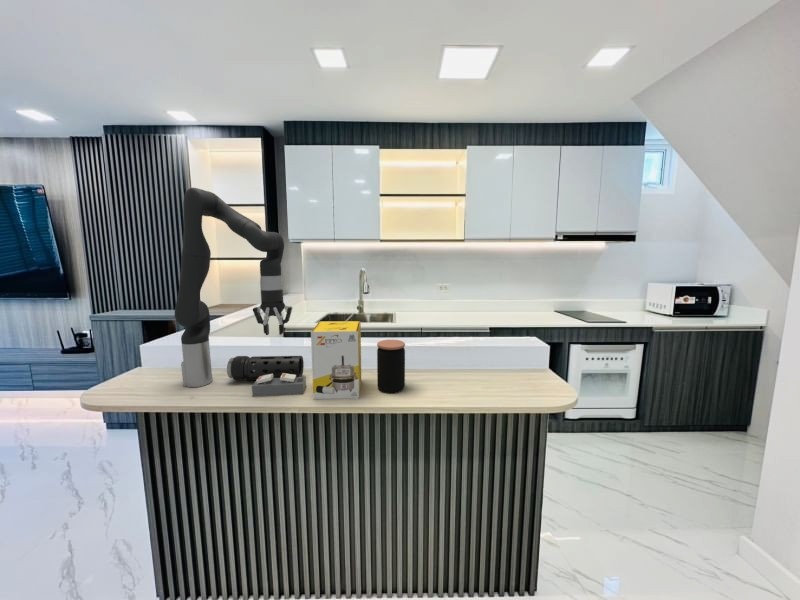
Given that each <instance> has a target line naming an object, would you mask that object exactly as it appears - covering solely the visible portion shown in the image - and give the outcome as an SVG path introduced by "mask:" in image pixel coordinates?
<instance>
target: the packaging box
mask: <svg viewBox="0 0 800 600" xmlns="http://www.w3.org/2000/svg"><path fill="white" fill-rule="evenodd" d="M361 330H362V329H361V321H360V320H359V321H358V320H357V321H356V320H354V321H353V320H351V321H350V320H349V321H348V320H347V321H342V320H341V321H319V322H318V323H317V324H316V325H315V326H314V327H313V329H312V330H311V331H310V342H311V343H310V344H311V348H310V349H311V369H312V370H311V371H312V393H313V394H312V395H313V396H312V397H313V398H312V399H313V401H314V400H315V401H316V400H317V399H319V400H348V399H349V400H351V399H353V400H356V398H357V399H360V394H361V388H360V387H362V343H361V342H362V340H361V339H362V337H361V336H362V335H361V334H362V331H361Z"/></svg>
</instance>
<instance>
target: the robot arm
mask: <svg viewBox="0 0 800 600" xmlns="http://www.w3.org/2000/svg"><path fill="white" fill-rule="evenodd" d="M182 204H183V206H182V207H183V211H182V212H183V238H182V239H183V240H182V251H181V259H180V274H179V275H180V276H179V287H178V292H177V293H178V294H177V298H176V304H175V308H174V318H175V320H176V322H177V323H178V325H179V326H181V327H184V328H185V329H184V331H183V333H182V334H181V336H180V341H181V350H182V351H181V352H182V360H183V361H181V362H180V366H181V377H182V385H183V387H188V388H199V387H203V386H207V385H209V384H210V383H212V382H213V373H212V372H213V371H212V370H213V369H212V359H211V358H212V357H211V348H210V337H209V336H210V333H211V318H210V317H211V316H210V315H211V314H210V309H209V307H208V305H207V304H206V303H205V301H202V300H200V298H201V297H200V296H201V291H202V287H203V285H204V283H205V281H206V278H207V276H208V273H209V270H210V265H211V255H212V254H211V248H210V245H209V243H208V242H207V239H206V237H205V234H204V231H203V217H210V218H211V217H212V218H214V219H217V220H219V221H221V222H223V223H225V225H226V226H227V227H228V228H229V229H230V230H231V232H233V233H235V234H236V235H237V236H239V237H241V238H243V239H244V240H246V241H247V242H248V243H249V244H250V245H251V246H252V247H253V248H254V249H256V250H257V251H260V252H263V253H266V257H264V258H263V259H261V260H260V262H259V273H260V278H259V279H260V280H259V287H260V302H261V303H260V305H259V306H255V307H254V308H252V312H253V315H254V317H255V319H256V322H257V324H259V325H262V326H263V333H264V334H265V336H268V335H270V326H269V325H270V324H269V321H270V317H276V319H277V321H278V323H279V324H278V331H279V333H278V335H279V336H281V335H283V334H284V332H285V324H287V323H288V322H290V318H291V316H292V311H293V307H292V306H287V305H285V302H284V285H283V284H284V283H283V277H282V266H281V265H282V259H283V257H284V256H283V255H284V250H285V241H284V238H283V236H282V235H281V234H280V233H279V232H275V231H265V230H262V227H261V226H260V225H259V223H257V222H255V221H254V220H252V219H250V218H249V217H247V216H245V215H243V214H242V213H240V212H239V211H236V210H235V209H234V208H232V207H231V206H230V205H228V204H227V202H225V201H224V200H223V199H221V197H219V196H218V195H217V194H215V193H214V192H212V191H209V190H204V189H202V188H198V187H190V188H188V189H187V190H186V191H185V193H184V195H183V202H182ZM284 310H285V312H286V314H285V318H284V316H283V313H282V312H283V311H284ZM261 311H262V312H263V313H264V315H263V318H262V315H261Z"/></svg>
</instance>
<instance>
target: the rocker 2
mask: <svg viewBox="0 0 800 600" xmlns="http://www.w3.org/2000/svg"><path fill="white" fill-rule="evenodd" d="M295 378H296V375H293V374H287V373H283V374H282V375H281V377H280V380H284V381H290V382H294V380H295Z"/></svg>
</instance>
